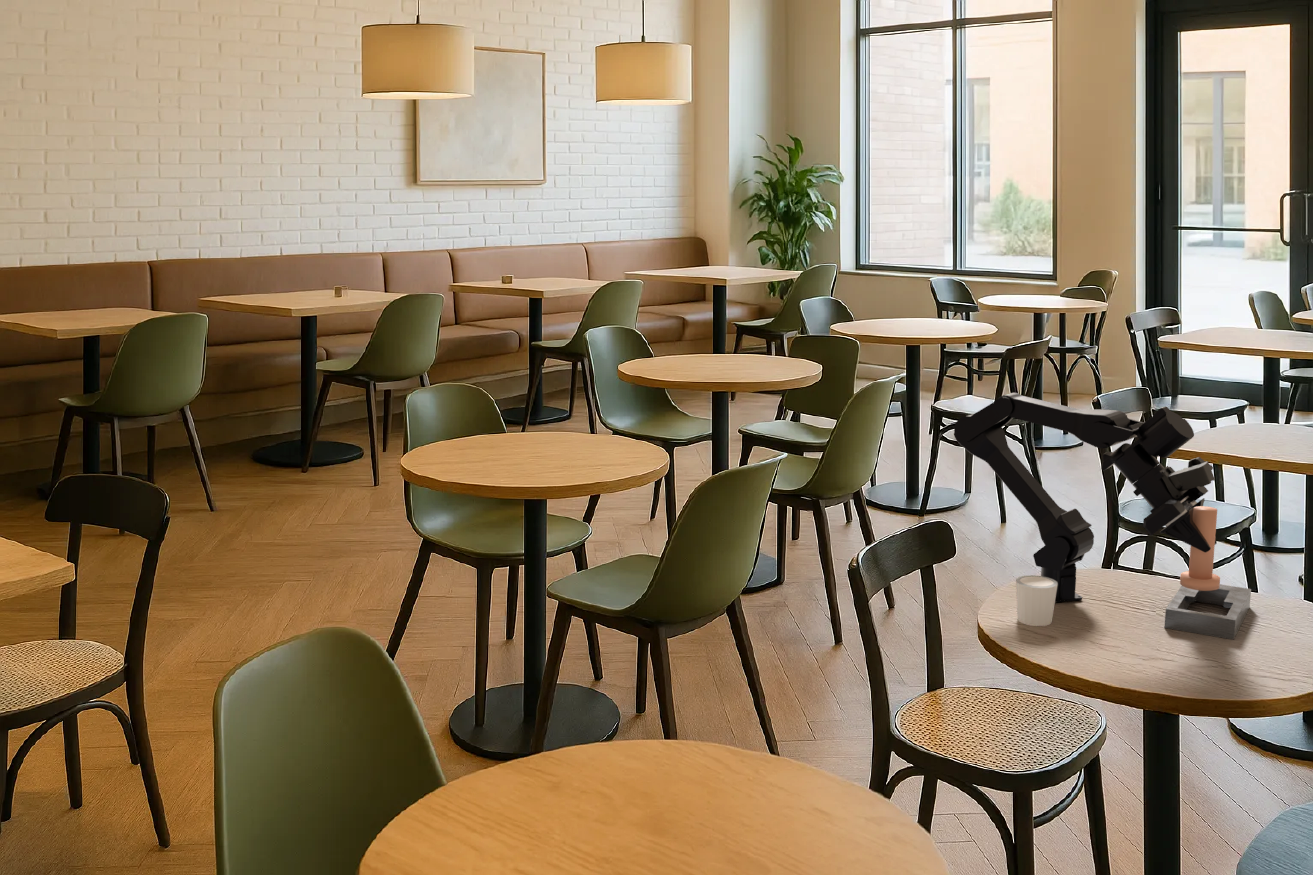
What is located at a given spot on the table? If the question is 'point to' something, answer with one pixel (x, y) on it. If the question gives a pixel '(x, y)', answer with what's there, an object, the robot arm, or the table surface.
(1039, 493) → the robot arm
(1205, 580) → the peg
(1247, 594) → the keyhole plate
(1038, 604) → the white cup
